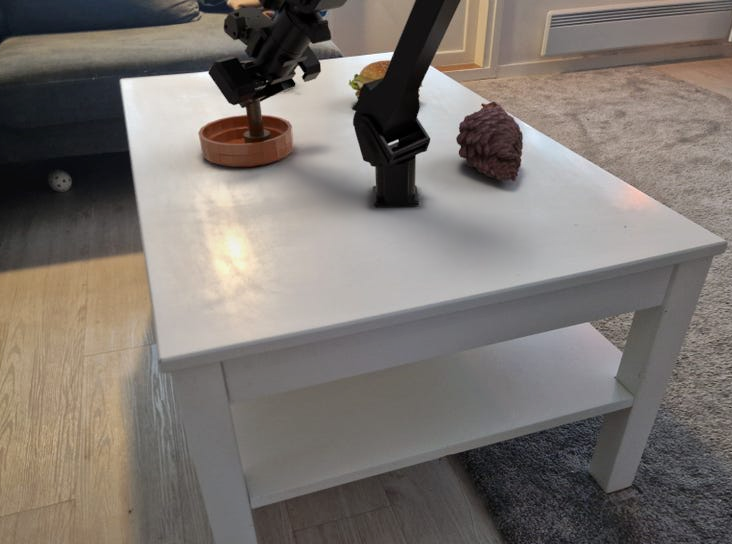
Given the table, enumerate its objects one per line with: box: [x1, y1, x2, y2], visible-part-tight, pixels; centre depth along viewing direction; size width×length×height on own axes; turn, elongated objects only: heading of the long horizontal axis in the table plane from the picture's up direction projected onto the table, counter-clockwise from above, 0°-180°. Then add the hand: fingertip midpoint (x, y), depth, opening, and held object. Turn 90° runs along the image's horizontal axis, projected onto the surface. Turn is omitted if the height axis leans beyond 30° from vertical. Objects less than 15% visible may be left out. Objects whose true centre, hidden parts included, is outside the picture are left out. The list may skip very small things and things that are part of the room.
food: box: [348, 59, 423, 100], centre depth 127 cm, size 14×14×8 cm
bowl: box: [197, 114, 295, 168], centre depth 108 cm, size 15×15×4 cm
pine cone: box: [455, 101, 524, 182], centre depth 100 cm, size 18×10×10 cm
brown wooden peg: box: [240, 60, 271, 144], centre depth 105 cm, size 4×4×13 cm
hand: (247, 103), depth 105 cm, fingers closed on brown wooden peg, 2 cm apart
